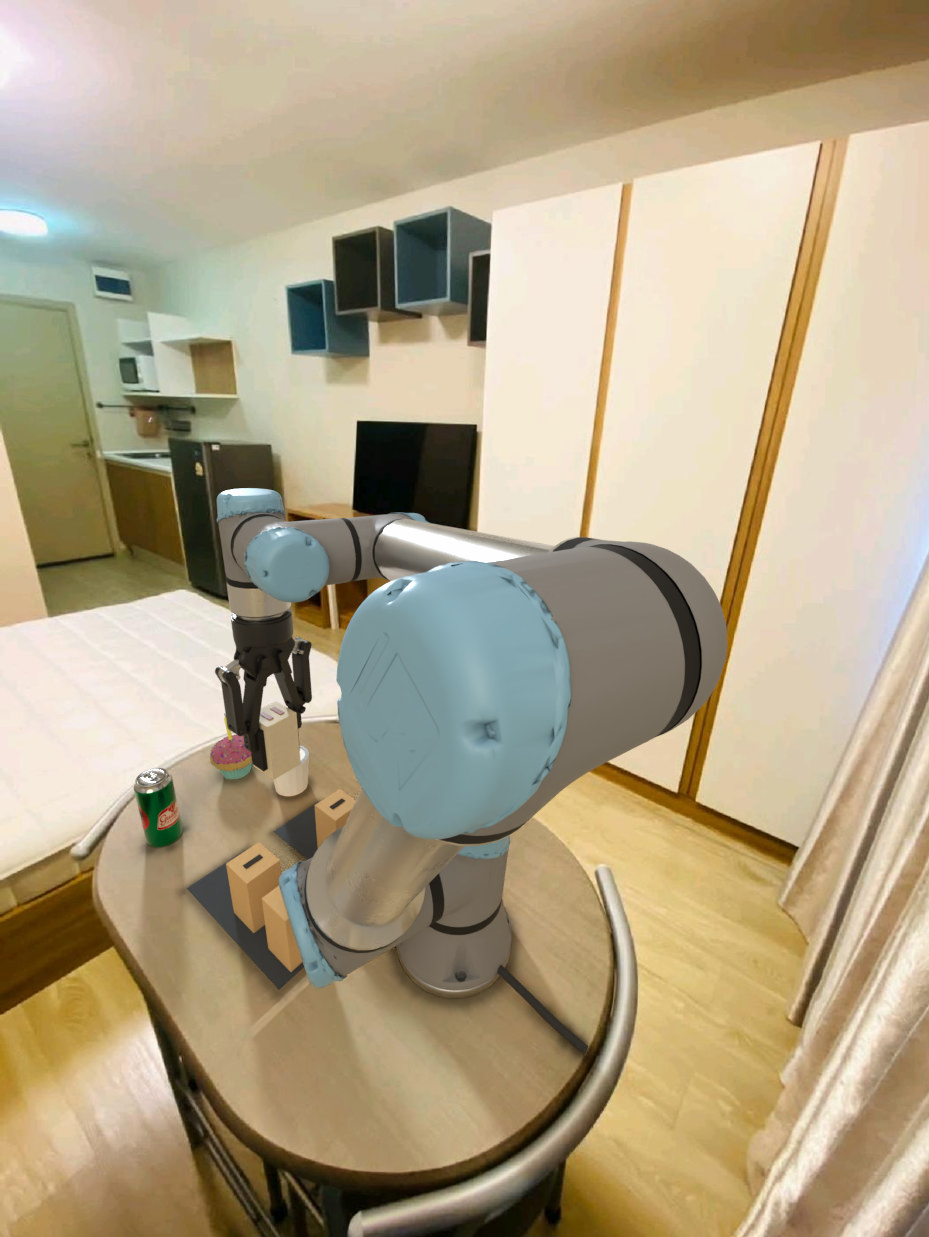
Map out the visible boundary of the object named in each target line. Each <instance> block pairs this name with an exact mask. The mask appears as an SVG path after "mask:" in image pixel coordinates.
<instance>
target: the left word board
mask: <svg viewBox="0 0 929 1237" xmlns="http://www.w3.org/2000/svg"><path fill="white" fill-rule="evenodd" d="M281 874H282V867H281V860H280V859H279V858H278V857H277V856H276V855H275V854H274V853H272V852H271V851H270V850H269V849H268V848H267V847H266V846H264V845H263V844H262V843H261V841H258V842H257V843H255V844H253V845H252V846H250V847H249V848H247V849H246V850H245V849H244V850H243V851H241V852H240V853H238V854H236V855H235V856H233V857H232V858H230V859H229V860H227V861H226V862H224V863H223V864H221V865H220V866H218V867H217V868H215V869H214V870H212V871H211V872H209V873H208V874H206V875H205V876H203V877H201V878H200V879H199V880H197V881H195V882H194V883H192V884H191V885H189V886H188V887H186V888H187V891H189V892H190V894H192V896H193V897H194V898H195V899H196V900H197V901H198V902H199V904H200V905H201V906H202V907H203V908H204V909H205V910H206V911H207V912H208V913H209V915H210V916H211V917H212V918H213V919H214V920H215V921H216V922H217V924H219V926H221V928H222V929H223V930H224V932H226V933H227V935H228V936H229V937H230V938H231V939H232V940H233V942H235V943H236V945H238V946H239V948H240V949H241V950H242V951H243V952H244V953H245V955H246V956H247V957H248V958H249V959H250V960H251V961H252V962H253V963H254V965H256V966H257V968H258V969H259V970H260V971H261V972H262V973H263V974H264V975H265V976H266V978H267V979H268V980H269V981H270V982H271V983H272V984H273V986H274V987H276V989H277V990H278V991H280V990H281V989H282V988H283V987H284V986H285V985H287V984H288V982H290V981H291V980H292V979H293V978H294V977H295V976H296V975H297V974H298V973H300V972H301V970H302V969H304V968H305V967H304V964H303V961H302V958H301V955H300V952H299V949H298V946H297V943H296V940H295V937H294V934H293V930H292V927H291V924H290V921H289V918H288V914H287V911H286V908H285V905H284V901H283V898H282V895H281V891H280V888H279V877H280V875H281Z"/></svg>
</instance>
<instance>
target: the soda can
mask: <svg viewBox="0 0 929 1237" xmlns="http://www.w3.org/2000/svg"><path fill="white" fill-rule="evenodd" d="M133 792H134V796H135V801H136V805H137V808H138V812H139V818H140V821H141V826H142V829H143V834H144V838H145V842H146V844H147V845H148V846H149V847H152V848H157V849H159V848H165V847H169V846H170V845H172V844H174V843H175V842H176V841H177V840H179V838H180V837H181V836H182V833H183V824H182V819H181V814H180V810H179V805H178V799H177V795H176V789H175V785H174V780H173V776H172V774H171V773H170V772H169V771H168V769H166V768H164V767H153V768H149V769H147V770H144V771H142V772H141V773H139V774H138V775H137V776H136V778H135V780H134V785H133Z"/></svg>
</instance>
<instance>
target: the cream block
mask: <svg viewBox="0 0 929 1237" xmlns="http://www.w3.org/2000/svg"><path fill="white" fill-rule="evenodd" d="M259 728H260V729H262V730H263V731H264V738H265V747H266V756H267V765H268V769H267V770H265V771H262V770H261V769H259V768H258V767H256V766H255V765H253V764H252V766H253V768H255V769H256V770H257V771H259V772H261V773H262V774H264V775H265V776H267V777H268V779H271V780H272V781H273V780H274V779H276V778H278V777H279V776H281V775H283V774H285V773H286V772H288V771H290V770H291V769H293V768H295V767H296V766H298V765H300V764H301V761H300V749H299V744H300V736H299V737H298V732H299V729H298V725H297V713H296V712H294V711H292V710H291V709H289V708H288V706H286V705H285V704H282V703H280V702H279V701H273V702H272V703H270V704H267V705H265V706H263V707H261V712H260V720H259Z"/></svg>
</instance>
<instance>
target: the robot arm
mask: <svg viewBox="0 0 929 1237" xmlns="http://www.w3.org/2000/svg"><path fill="white" fill-rule="evenodd" d="M216 510H217V512H216V513H217V518H216V524H217V525H218V530H219V536H220V537H219V538H220V544H221V550H222V558H223V564H224V565H223V566H224V572H225V581H226V591H227V597H228V604H229V611H230V613H232V614H231V615H230V624H231V630H232V638H233V642H234V644H235V652H234V655H233V660H232V661H231V662H229V663H228V664H226V665H225V666H222V665H219V666H218V665H217V667H216V668H215V669H214V673H215V675H216V677H217V678H218V680H219V681H220V682H219V683H221V684H220V685H221V692H222V699H223V707H224V713H225V715H226V721H227V728H228V729H229V730H231V733H233V734H234V735H238V736H243V737H244V743H245V748H246V749H247V750H248V751H250V752H251V757H252V766H253V765H255V766H256V767H258V768H259V769H261V770H262V771H265V770H267V769H268V765H267V756H266V747H265V738H264V731H263V730H262V729H260V728H259V720H260V712H261V708H262V703H263V696H264V695H263V694H264V689H265V687H266V686H267V684H268V678H269V677H271V676H272V675H273V676H274V677H275V681H276V684H277V685H278V688H279V692H280V694H281V696H282V699H283V702H284V705H285V707H287V708H289V709H291V710H292V711H294V712H296V713H297V725H298V730H299V729H301V728H302V724H303V721H302V714H304V713H305V712H306V711H307V710H306V708H307V707H306V706H304V705H305V704H310V703H311V702H312V700H313V694H312V693H313V692H312V679H311V665H310V664H311V663H310V655H311V650H312V646H313V644H312V642H311V641H309V640H307V639H305V638H302V637H300V636H297V637H296V638H294V637H293V635H294V622H293V611H292V609H290V608H291V606H292V604H293V603H301V602H305V601H307V600H308V599H310V598H312V597H313V596H315V595H316V594H318V593H319V592H320V591H322V589H323V588H324V586H332V585H338V584H344V583H350V582H356V581H357V582H358V581H363V580H371V579H383V580H386V581H388V582H386V583H385V584H383V585H381V586H379V587H378V588H377V589H375V590H374V591H373V592H371V593H370V594H369V595H368V596H367V597H366V598H365V599H364V600H363V601H362V602H361V604H360V605H359V606H358V608H357V609H356V610H355V612H354V613H353V615H352V617H351V619H350V620H349V622H348V624H347V627H346V630H345V632H344V634H343V637H342V640H341V643H340V644H341V645H340V648H339V653H338V659H337V666H336V679H335V680H336V683H337V685H338V686H339V689H340V692H341V693H340V697H339V698H338V699H337V701H336V704H337V717H338V722H339V728H340V733H341V734H340V735H341V738H342V742H343V746H344V749H345V753H346V756H347V758H348V761H349V764H350V766H351V769H352V771H353V774H354V776H355V778H356V780H357V782H358V783H359V786H360V790H359V793H358V795H357V797H356V799H355V800H356V801H355V803H354V806H353V808H352V810H351V812H350V815H349V817H348V819H347V821H346V823H345V825H344V826H342V827H341V828H339V829H337V830H336V831H334V832H333V833H332V834H331V835H329V836H328V837H327V838H326V839H325V840H324V841H323V843H322V844H321V845H320V846H319V848H318V849H317V851H316V852H315V854H314V856H313V858H310V859H308V860H307V859H306V860H304V861H303V860H299V861H297V863H293V866H291V867H289V868H287V869H285V870H284V871H282V872H281V875H280V877H279V888H280V891H281V895H282V898H283V901H284V905H285V908H286V911H287V914H288V918H289V921H290V924H291V927H292V930H293V934H294V937H295V940H296V943H297V946H298V949H299V952H300V955H301V958H302V961H303V964H304V967H303V968H304V970H305V973H306V976H307V979H308V981H309V983H310V984H311V986H312V987H314V988H317V989H324V988H326V987H328V986H330V985H331V984H334V983H335V982H342V981H344V980H345V979H346V978H347V977H348V976H349V975H350V974H352V973H353V972H355V971H356V970H358V969H360V968H361V967H363V966H365V965H366V964H368V963H369V962H371V961H373V960H375V959H377V958H379V957H380V956H381V955H383V954H384V953H386V952H388V951H389V950H391V949H393V948H395V947H396V953H397V957H398V961H399V963H400V966H401V967H402V969H403V971H404V972H405V974H406V975H407V977H408V978H409V979H410V980H411V982H412V983H414V984H415V985H416V986H417V987H418V988H420V989H422V990H423V991H425V992H427V993H429V994H431V995H434V996H436V997H439V998H446V999H464V998H469V997H473V996H476V995H479V994H480V993H483V992H484V991H486V990H488V988H490V987H492V986H493V985H494V984H495V983H496V982H497V981H498V980H499V978H500V977H501V978H502V979H503V980H504V981H505V982H506V983H507V984H508V985H509V986H510V987H511V988H512V989H513V990H514V991H516V993H518V995H519V996H520V997H521V998H522V999H523V1000H524V1001H525V1002H527V1003H528V1004H529V1005H530V1007H531V1008H532V1009H533V1010H534V1011H536V1013H537V1014H538V1015H540V1017H541V1018H542V1019H543V1020H544V1021H545V1022H546V1023H547V1024H548V1025H549V1026H550V1027H551V1028H552V1029H553V1030H554V1031H556V1033H558V1034H559V1035H560V1036H561V1037H562V1038H563V1039H564V1040H566V1042H568V1043H569V1044H570V1045H571V1046H573V1047H574V1048H575V1049H576V1050H577V1051H579V1052H580V1053H581V1054H582V1055H583V1056H585V1055H586V1053H587V1051H588V1048H589V1045H588V1044H587V1043H586V1042H584V1041H583V1040H582V1039H581V1038H580V1037H579V1036H578V1035H576V1034H575V1033H574V1032H573V1031H571V1030H570V1029H569V1028H568V1027H567V1026H566V1025H564V1024H563V1022H562V1021H560V1020H559V1019H558V1018H557V1017H556V1016H555V1015H554V1014H553V1013H552V1012H550V1010H549V1009H548V1008H546V1006H544V1005H543V1003H541V1001H539V999H537V997H536V996H534V995H533V994H532V993H531V992H530V991H529V990H528V988H526V987H525V985H523V984H522V983H521V982H520V981H519V980H518V979H517V978H516V977H515V976H514V975H513V974H512V973H511V972H510V971H509V970H507V966H508V962H509V960H510V957H511V951H512V941H513V938H512V937H513V935H512V926H511V925H512V924H511V921H510V917H509V914H508V912H507V910H506V908H505V905H504V899H503V894H504V886H505V880H506V873H507V872H506V871H507V865H508V864H507V862H508V855H509V848H510V845H511V835H512V834H513V833H516V832H517V831H518V830H519V829H521V828H522V827H523V826H524V825H526V823H527V822H528V821H530V820H531V819H532V818H533V817H534V816H535V815H536V814H538V812H540V811H541V810H542V809H543V808H544V807H545V806H546V805H547V804H548V803H550V802H551V801H552V800H553V799H554V798H555V797H557V795H558V794H560V793H561V792H562V791H564V789H566V788H567V787H568V786H570V785H572V783H574V782H575V781H577V780H579V779H580V778H581V777H583V776H585V775H586V774H588V773H589V772H591V771H593V770H595V769H597V768H598V767H600V766H603V765H604V764H606V763H608V762H610V761H612V760H614V759H616V758H618V757H620V756H622V755H623V754H625V753H627V752H630V751H632V750H633V749H636V748H638V747H639V746H641V745H643V744H645V743H648V742H650V741H651V740H653V739H655V738H657V737H659V736H662V735H664V734H667V733H669V732H670V731H673V730H675V729H676V728H677V727H679V726H680V725H682V724H683V723H685V722H686V721H688V720H690V718H692V717H693V716H694V715H695V714H696V713H697V712H698V711H699V710H700V709H701V708H702V707H703V705H705V704H706V702H707V701H708V700H709V699H710V697H711V695H712V693H713V692H714V690H715V688H716V687H717V685H718V683H719V681H720V678H721V675H722V672H723V669H724V665H725V663H726V659H727V652H728V630H727V629H728V627H727V624H726V622H727V621H726V618H725V614H724V611H723V607H722V604H721V602H720V600H719V598H718V596H717V593H716V592H715V590H714V589H713V587H712V586H711V585H710V583H709V582H708V580H707V578H706V577H705V576H704V575H703V574H702V573H701V572H700V571H699V570H698V569H697V568H696V567H695V566H694V565H693V564H692V563H691V562H690V561H688V560H686V559H685V558H684V557H682V556H681V555H680V554H677V553H675V552H674V551H671V549H668V548H665V547H662V546H659V545H656V544H652V543H648V542H642V541H631V540H630V541H620V540H607V539H601V538H600V539H598V538H594V537H586V536H574V537H569V538H566V539H564V540H562V541H560V542H559V543H557V544H555V545H553V544H548V543H542V542H536V541H531V540H526V539H521V538H520V539H519V538H514V537H508V536H503V535H498V534H492V533H486V532H482V531H481V532H480V531H475V530H471V529H470V530H469V529H464V528H459V527H453V526H448V525H442V524H437V523H432V522H429V521H428V520H426V518H425V517H424V516H423V515H421V514H420V513H417V512H416V513H415V512H390V513H387V514H375V515H364V516H353V517H338V518H324V519H309V520H296V521H286V520H285V517H286V511H285V508H284V502H283V497H282V496H281V494H280V493H279V492H278V491H275V490H272V489H267V488H255V487H254V488H253V487H248V488H246V487H245V488H233V489H227V490H224V491H222V492H220V493H218V495H217V497H216ZM290 657H291V664H292V668H291V664H290V663H289V659H290ZM241 669H242V670H243V681H244V689H243V696H242V688H241V684H240V681H239V680H240V679H241V676H240V670H241ZM292 674H293V675H292ZM299 733H300V732H299V731H298V737H299V738H300V736H299V735H300V734H299ZM300 744H301V743H299V749H300Z"/></svg>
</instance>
